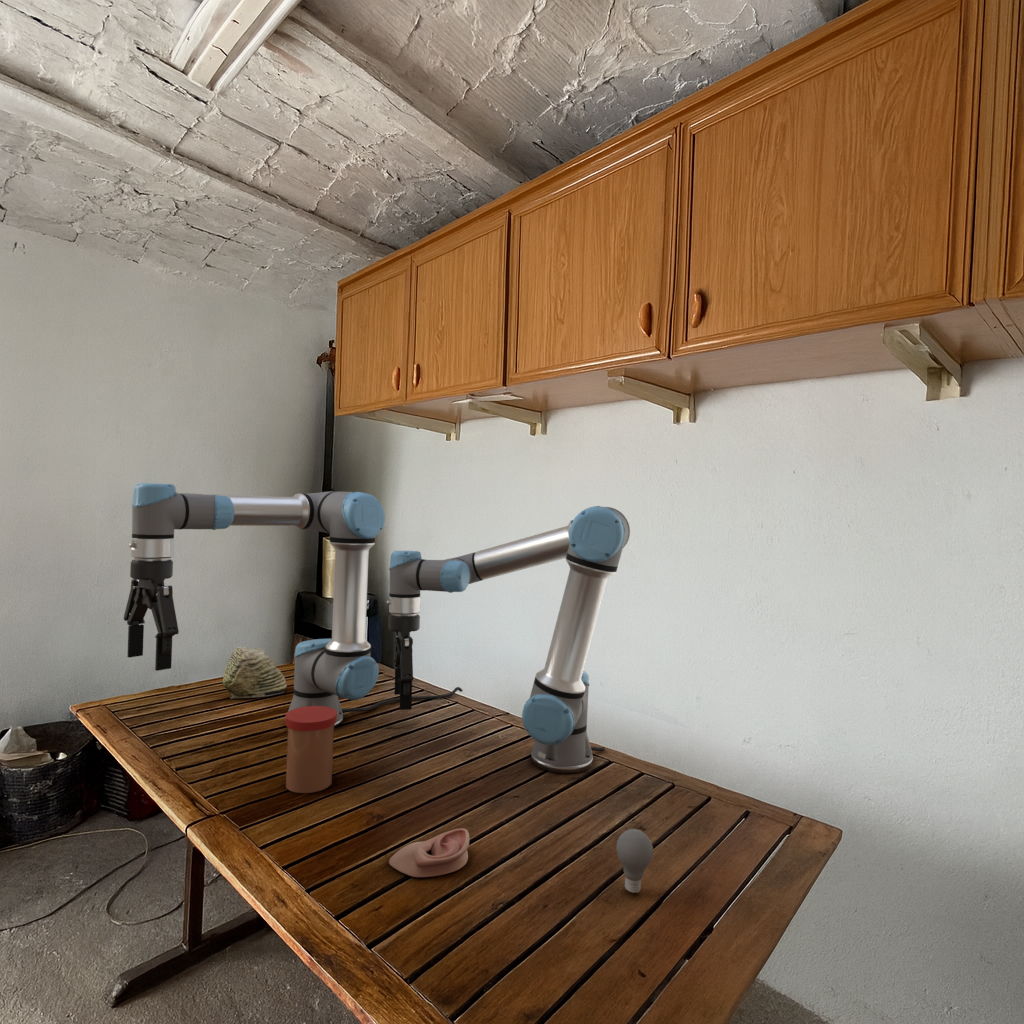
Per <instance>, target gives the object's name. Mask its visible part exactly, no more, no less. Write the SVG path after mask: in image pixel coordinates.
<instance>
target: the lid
mask: <svg viewBox="0 0 1024 1024" xmlns="http://www.w3.org/2000/svg"><path fill="white" fill-rule="evenodd" d="M284 718H285V721H284V725H285V726H286V728H287V729H288V728H290V729H293V730H299V731H314V730H321V729H325V728H328V727H331V726H333V725H334V724H335V723H336V722H337V711H336V710H335V709H333V708H330V707H325V706H306V707H300V708H296V709H293V710H291V711H289V712H288V711H287V712H286V714H285V717H284Z"/></svg>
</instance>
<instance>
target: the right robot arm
mask: <svg viewBox="0 0 1024 1024" xmlns="http://www.w3.org/2000/svg"><path fill="white" fill-rule="evenodd" d="M630 534H631V527H630V523H629V521H628V519H627V518H626V516H625V515H624V514H623V512H621V511H620V510H618V509H616V508H614V507H611V506H601V505H593V506H589V507H587V508H585V509H583V510H581V511H580V512H579V513H578V514H577V515H576V516H575V517H574V518H573V519H572V520H570V521H569V523H568V524H567V525H565V526H563V527H559V528H555V529H552V530H548V531H544V532H541V533H537V534H534V535H529V536H526V537H523V538H520V539H517V540H512V541H509V542H506V543H502V544H499V545H495V546H491V547H488V548H485V549H481V550H477V551H475V552H471V553H467V554H463V555H459V556H455V557H452V558H451V557H450V558H445V559H425V558H422V557H423V556H422V553H421V551H420V550H419V551H418V550H394V551H393V552H391V554H390V558H389V568H388V570H389V596H388V600H386V604H387V605H388V612H389V613H390V614H389V615H388V630H389V631H390V632H394V633H395V634H396V636H395V637H394V644H395V645H394V648H395V649H394V650H395V651H394V660H393V663H394V667H395V668H394V695H395V696H398V695H399V698H400V701H399V711H406V710H407V711H408V710H412V707H413V706H412V704H413V700H412V697H413V681H414V678H415V677H414V664H413V663H414V662H413V644H414V639H413V638H412V636H411V632H417V631H419V630H420V628H421V627H420V626H421V616H420V615H419V613H420V612H421V591H427V592H428V591H430V592H442V593H443V592H444V593H450V594H451V593H463V592H464V591H465V590H466V589H467V588H468V586H469V585H471V584H474V583H478V582H481V581H484V580H485V581H486V580H488V579H492V578H496V577H500V576H504V575H507V574H511V573H515V572H519V571H522V570H526V569H530V568H534V567H538V566H541V565H545V564H549V563H552V562H557V561H561V560H563V559H565V561H566V563H567V564H568V566H569V571H568V576H567V580H566V583H565V586H564V590H563V595H562V599H561V603H560V607H559V611H558V615H557V618H556V622H555V627H554V629H553V633H552V637H551V641H550V645H549V650H548V652H547V657H546V660H545V664H544V668H542V669H541V670H539V671H537V672H536V673H535V677H534V680H533V683H532V688H531V692H530V696H529V698H528V699H527V701H525V704H524V705H523V709H522V712H521V713H522V714H521V719H522V720H521V721H522V724H523V725H522V726H523V727H524V729H525V731H526V732H527V734H528V735H529V736H530V738H532V739H533V740H534V743H533V746H532V748H531V751H530V752H531V753H530V760H531V762H532V763H533V765H535V766H536V767H537V768H540V769H542V770H544V771H547V772H550V773H556V774H578V773H582V772H585V771H588V770H590V769H591V767H592V766H593V760H594V759H593V758H594V756H593V751H594V752H604V751H606V749H605V746H601V747H600V746H591V744H590V740H589V736H588V732H587V729H588V728H587V727H588V709H589V688H590V687H589V686H590V685H591V683H590V679H589V677H590V676H589V673H588V672H586V671H585V664H586V662H587V658H588V654H589V650H590V647H591V642H592V640H593V639H592V638H593V635H594V631H595V628H596V624H597V620H598V616H599V613H600V608H601V605H602V604H601V603H602V601H603V597H604V593H605V590H606V586H607V582H608V579H609V578H611V576H613V575H616V574H617V571H618V568H619V563H620V560H621V556H622V553H623V549H624V548H625V547H626V546H627V544H628V542H629V540H630V536H631V535H630Z"/></svg>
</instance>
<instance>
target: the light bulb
mask: <svg viewBox="0 0 1024 1024" xmlns="http://www.w3.org/2000/svg"><path fill="white" fill-rule="evenodd" d="M615 849H616V854H617V857H618V859H619V861H620V863H621V865H622V867H623V873H624V874H623V875H624V876H625V878H624V888H625V890H627V891H628V892H630V893H634V894H635V893H639V892H640V891H641V889H642V887H641V886H642V879H643V877H644V875H645V871H646V868H647V867H648V866H649V864H650V863H651V861H652V859H653V855H654V847H653V843H652V841H651V838H649V836H648V835H647V834H646V833H645V832H643V831H642V830H641V829H636V828H629V829H627V830H625V831H623V832H622V833H621V834H620V835H619V837H618V839H617V841H616V847H615Z"/></svg>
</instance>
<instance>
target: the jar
mask: <svg viewBox="0 0 1024 1024" xmlns="http://www.w3.org/2000/svg"><path fill="white" fill-rule="evenodd" d="M286 737H287V738H286V765H285V770H286V771H285V788H286V789H287V790H288V791H290V792H293V793H297V794H311V793H317V792H321V791H323V790H326V789H327V788H329V787H330V786H331V785H332V784H333V766H334V765H333V762H334V738H335V728H334V725H333V726H331V727H328V728H325V729H321V730H314V731H299V730H293V729H290V728H288V727H287V735H286Z"/></svg>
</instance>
